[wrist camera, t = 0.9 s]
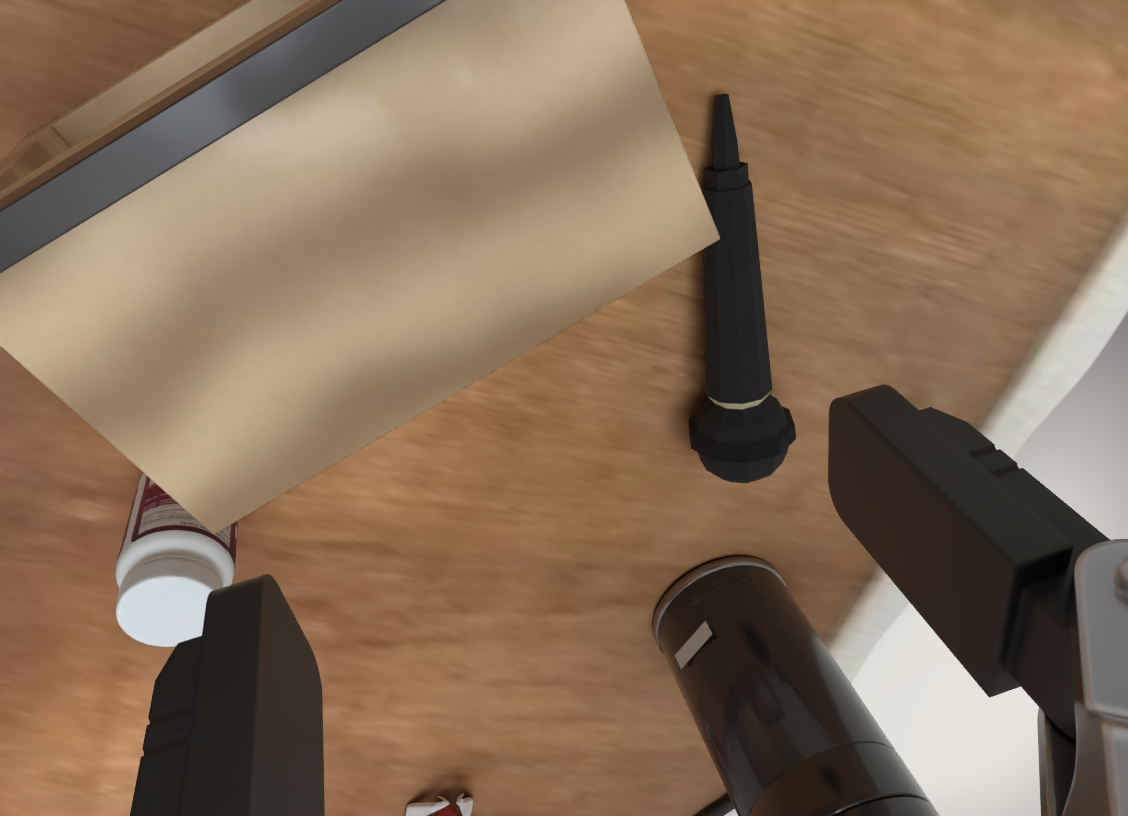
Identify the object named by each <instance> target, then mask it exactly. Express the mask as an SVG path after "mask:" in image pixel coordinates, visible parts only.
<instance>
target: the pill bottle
mask: <svg viewBox="0 0 1128 816" xmlns="http://www.w3.org/2000/svg"><path fill="white" fill-rule="evenodd" d="M237 531H238V521H236V522H234V523H233V524H231V525H229V526H227V527H226V528H224V529H222V530H221V531H219V532H217V533H215V534H212V533H211V532H210V531H209V530H208V529H207V528H206V527H205V526H203V525H202V524H201V523H200V522H199V521H198V520H197V519H196V518H194V517H193V516H192V515H191V514H190V513H189V512H188V511H186V510H185V509H184V508H183V507H182V506H181V505H180V504H179V503H177V502H176V501H175V500H174V499H173V498H172V497H171V496H170V495H168V494H167V493H166V492H165V491H164V490H163V489H162V488H160V487H159V486H158V485H157V484H156V483H155V482H154V481H153V480H151V479H150V478H149V477H148V476H147V475H146V474H145V473H143V475H142V476H141V478H140V480H139V482H138V485H137V488H136V492H135V495H134V497H133V503H132V506H131V511H130V515H129V519H128V523H127V526H126V530H125V534H124V538H123V542H122V545H121V549H120V552H119V556H118V559H117V564H116V581H117V584H118V587H119V595H118V601H117V606H116V617H117V621H118V623H119V625H120V627H121V628H122V629H123V630H124V631H125V632H126V633H127V634H128V635H129V636H131V637H132V638H134V639H135V640H138V641H140V642H142V643H145V644H149V645H154V646H162V647H172V646H177V644H178V643H180V642H183V641H186V640H190V639H193V638H196V637H199V636H202V631H203V623H204V616H205V609H206V602H207V597H208V595H209V593H210V592H211V591H213V590H217V589H220V588H223V587H226V586H230V585H231V583H232V581H233V578H234V572H235V557H236V542H237Z"/></svg>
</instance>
